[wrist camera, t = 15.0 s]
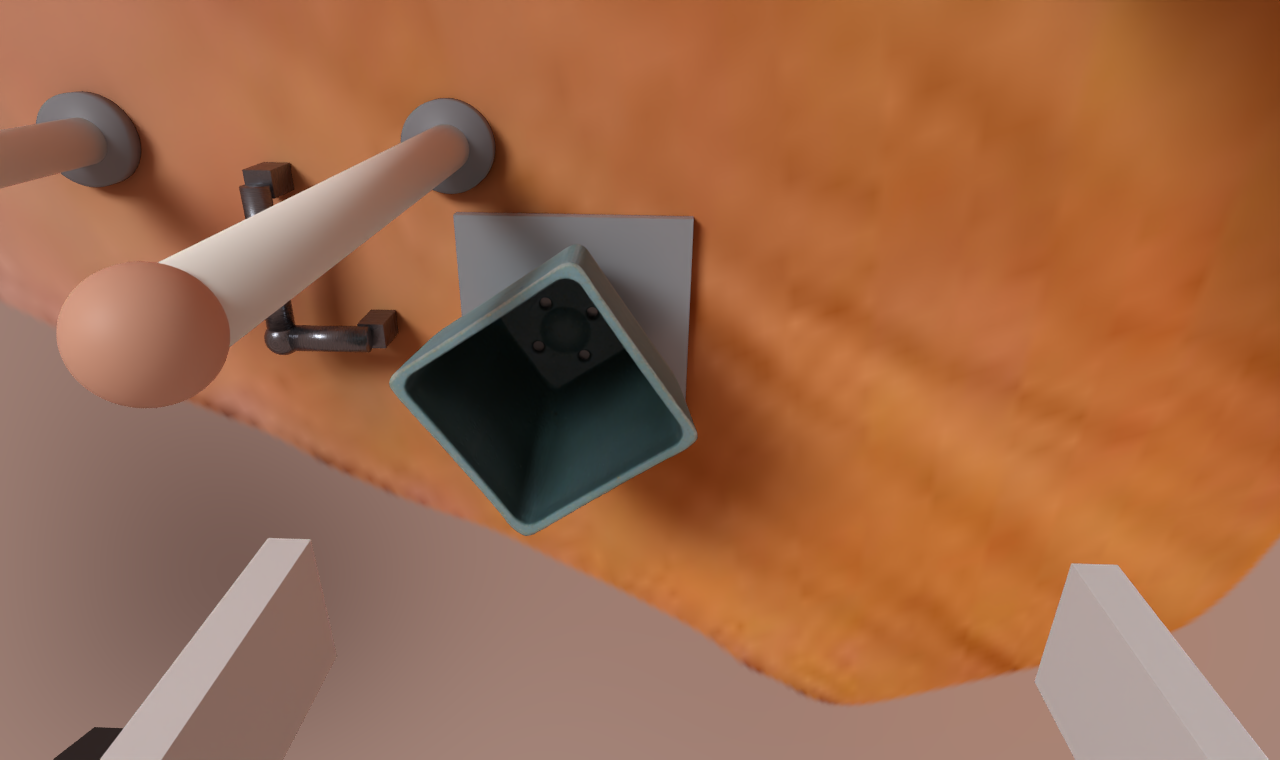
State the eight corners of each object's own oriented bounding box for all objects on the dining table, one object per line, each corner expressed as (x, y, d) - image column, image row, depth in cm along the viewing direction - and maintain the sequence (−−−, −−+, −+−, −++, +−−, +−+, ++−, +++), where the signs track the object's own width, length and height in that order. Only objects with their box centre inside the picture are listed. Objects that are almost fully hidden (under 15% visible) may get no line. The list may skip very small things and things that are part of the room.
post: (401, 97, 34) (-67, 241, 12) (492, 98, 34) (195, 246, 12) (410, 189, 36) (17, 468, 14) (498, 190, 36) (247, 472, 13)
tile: (456, 211, 36) (453, 214, 36) (692, 216, 36) (693, 219, 36) (473, 421, 41) (471, 426, 40) (683, 425, 41) (684, 430, 40)
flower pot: (692, 352, 38) (704, 442, 30) (548, 437, 40) (522, 542, 32) (591, 202, 35) (573, 257, 27) (440, 302, 37) (382, 381, 29)
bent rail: (258, 162, 35) (223, 174, 32) (377, 164, 35) (353, 177, 32) (290, 334, 39) (261, 360, 36) (398, 336, 39) (378, 362, 36)
